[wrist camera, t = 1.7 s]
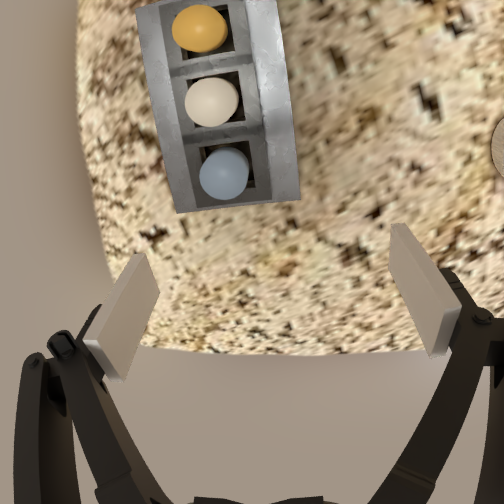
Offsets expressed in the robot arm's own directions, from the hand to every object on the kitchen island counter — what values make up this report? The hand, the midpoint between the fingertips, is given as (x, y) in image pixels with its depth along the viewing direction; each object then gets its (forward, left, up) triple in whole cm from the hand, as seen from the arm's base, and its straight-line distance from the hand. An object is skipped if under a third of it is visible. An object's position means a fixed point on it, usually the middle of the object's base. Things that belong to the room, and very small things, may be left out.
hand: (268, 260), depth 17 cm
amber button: (-14, -4, -21) cm, 25 cm away
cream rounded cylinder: (-7, -4, -21) cm, 22 cm away
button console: (-7, -4, -23) cm, 24 cm away
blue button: (0, -4, -21) cm, 21 cm away
